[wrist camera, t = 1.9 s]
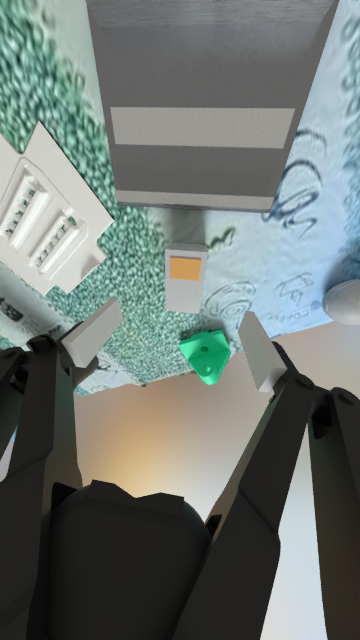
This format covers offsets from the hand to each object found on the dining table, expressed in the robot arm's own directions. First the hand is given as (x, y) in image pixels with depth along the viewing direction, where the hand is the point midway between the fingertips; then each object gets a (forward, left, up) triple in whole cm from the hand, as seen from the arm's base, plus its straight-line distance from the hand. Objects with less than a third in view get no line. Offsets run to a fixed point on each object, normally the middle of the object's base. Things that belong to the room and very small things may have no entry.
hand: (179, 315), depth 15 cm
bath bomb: (+30, -2, -17) cm, 34 cm away
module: (0, 0, -17) cm, 17 cm away
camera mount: (+6, -19, -17) cm, 27 cm away
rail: (0, +18, -17) cm, 25 cm away
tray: (-29, +5, -18) cm, 35 cm away
